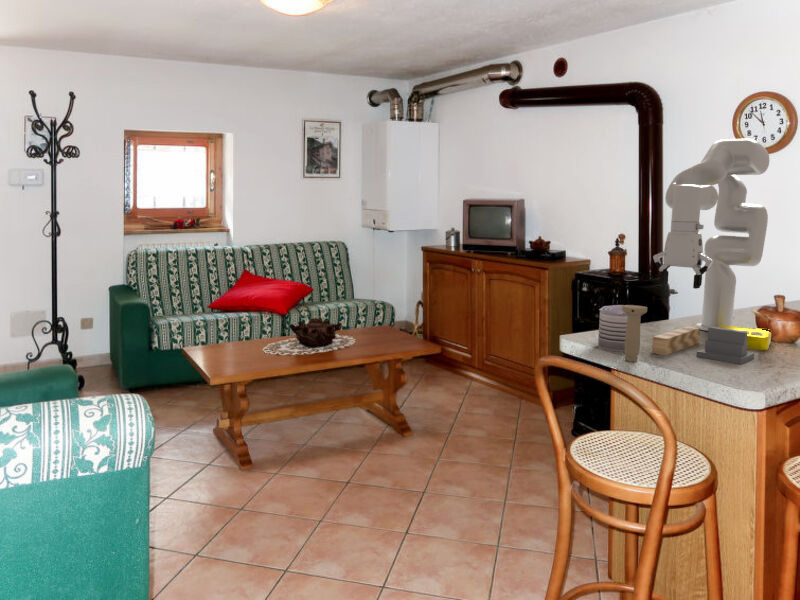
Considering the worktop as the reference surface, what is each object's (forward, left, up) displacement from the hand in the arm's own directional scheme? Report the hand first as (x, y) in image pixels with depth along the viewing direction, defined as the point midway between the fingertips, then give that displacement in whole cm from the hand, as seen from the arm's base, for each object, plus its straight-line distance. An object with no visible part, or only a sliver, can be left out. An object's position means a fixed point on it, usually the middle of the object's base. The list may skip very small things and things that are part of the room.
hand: (680, 286), depth 209 cm
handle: (+26, -1, -19) cm, 32 cm away
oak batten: (0, 0, -19) cm, 19 cm away
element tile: (-22, +11, -19) cm, 31 cm away
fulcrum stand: (+2, +15, -18) cm, 24 cm away
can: (+13, -12, -19) cm, 26 cm away
